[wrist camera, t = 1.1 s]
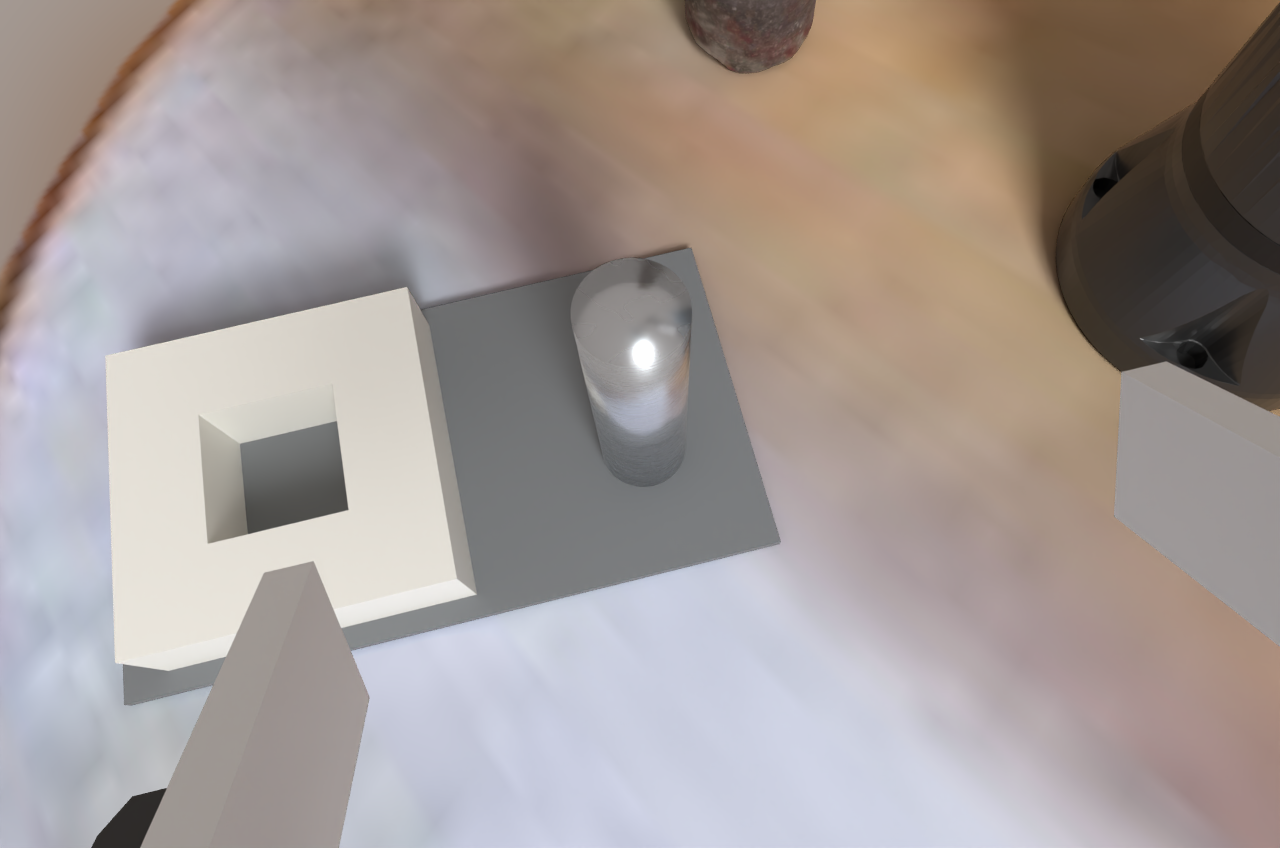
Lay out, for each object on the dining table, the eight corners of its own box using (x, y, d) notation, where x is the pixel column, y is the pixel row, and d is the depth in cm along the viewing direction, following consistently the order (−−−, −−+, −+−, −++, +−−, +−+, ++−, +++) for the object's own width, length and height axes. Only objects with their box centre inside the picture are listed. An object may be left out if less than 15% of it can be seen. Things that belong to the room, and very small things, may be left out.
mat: (690, 252, 46) (691, 247, 46) (779, 543, 41) (780, 541, 40) (119, 384, 45) (113, 380, 44) (130, 705, 39) (124, 705, 39)
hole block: (429, 325, 45) (407, 286, 41) (477, 594, 40) (456, 578, 36) (153, 388, 44) (105, 355, 40) (168, 670, 39) (115, 662, 35)
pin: (673, 399, 43) (674, 246, 30) (694, 475, 41) (706, 350, 28) (593, 418, 43) (559, 272, 29) (612, 495, 41) (584, 379, 28)
